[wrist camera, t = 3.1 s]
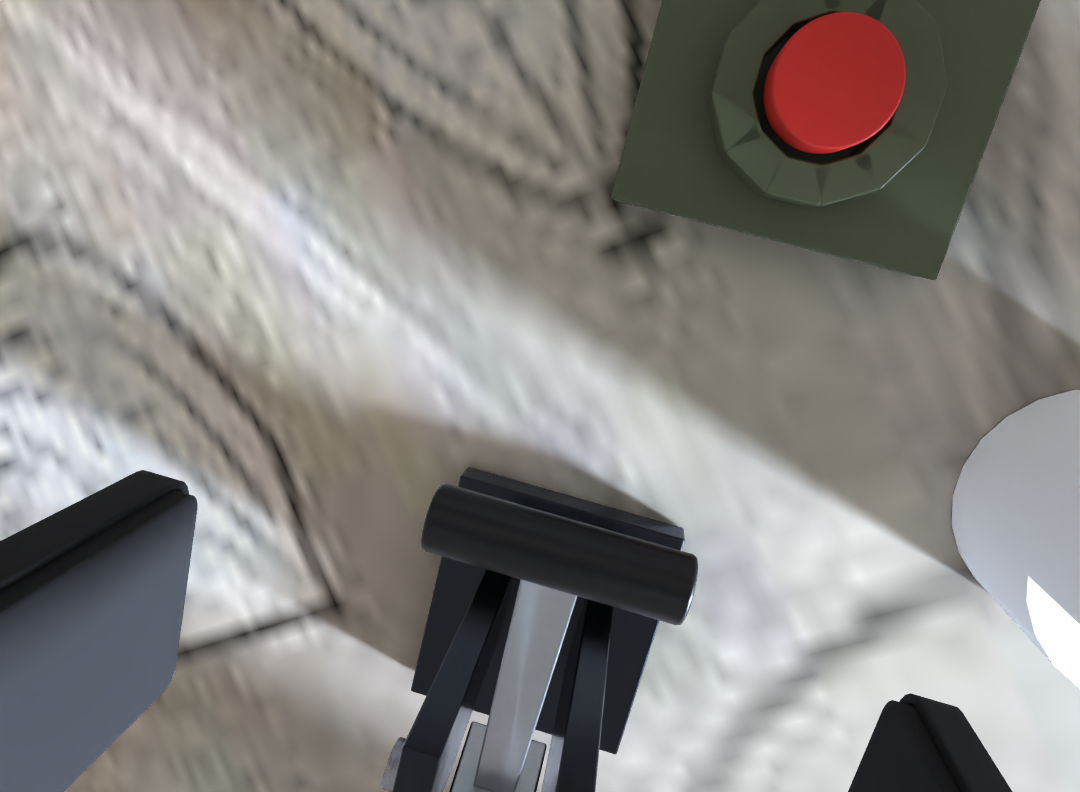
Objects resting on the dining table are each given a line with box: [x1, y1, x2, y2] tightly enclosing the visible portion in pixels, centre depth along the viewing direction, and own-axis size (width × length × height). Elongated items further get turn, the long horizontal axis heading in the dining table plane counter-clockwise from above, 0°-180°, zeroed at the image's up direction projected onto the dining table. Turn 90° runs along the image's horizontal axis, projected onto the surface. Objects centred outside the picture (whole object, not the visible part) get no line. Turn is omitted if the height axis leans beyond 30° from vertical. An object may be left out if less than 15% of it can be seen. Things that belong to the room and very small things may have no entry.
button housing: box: [611, 0, 1041, 280], centre depth 25 cm, size 11×9×4 cm
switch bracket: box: [382, 467, 685, 792], centre depth 26 cm, size 10×9×13 cm
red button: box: [763, 12, 906, 154], centre depth 22 cm, size 4×4×2 cm
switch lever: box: [421, 484, 698, 792], centre depth 18 cm, size 13×5×2 cm, turn 166°
